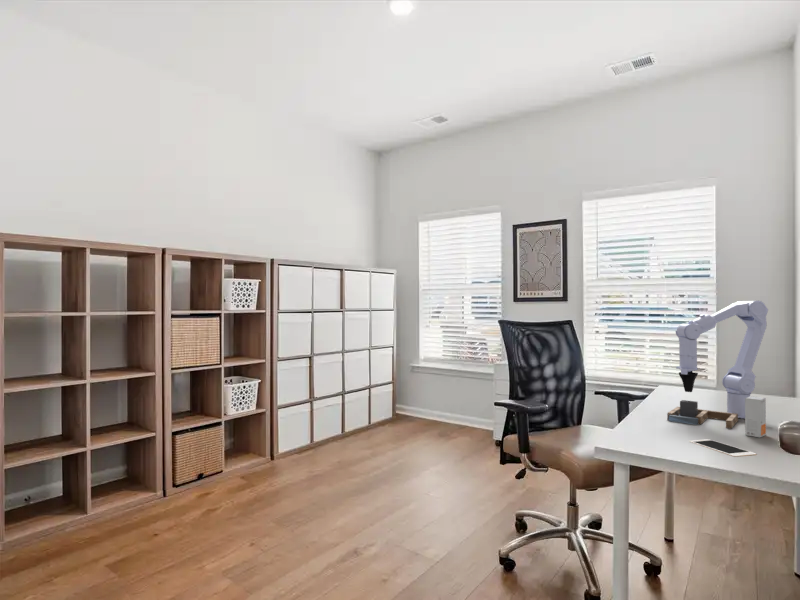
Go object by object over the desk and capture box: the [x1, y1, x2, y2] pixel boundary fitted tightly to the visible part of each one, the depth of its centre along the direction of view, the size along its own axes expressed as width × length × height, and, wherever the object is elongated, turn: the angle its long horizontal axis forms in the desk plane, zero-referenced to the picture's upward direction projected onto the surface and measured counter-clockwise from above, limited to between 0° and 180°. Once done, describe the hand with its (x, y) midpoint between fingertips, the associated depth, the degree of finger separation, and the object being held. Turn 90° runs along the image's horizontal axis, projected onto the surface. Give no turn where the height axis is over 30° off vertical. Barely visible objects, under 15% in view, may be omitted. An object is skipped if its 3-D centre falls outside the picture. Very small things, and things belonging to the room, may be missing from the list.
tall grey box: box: [679, 399, 699, 418], centre depth 180 cm, size 4×5×6 cm
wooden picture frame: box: [666, 406, 739, 429], centre depth 177 cm, size 17×20×2 cm
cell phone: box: [688, 438, 758, 458], centre depth 143 cm, size 8×16×1 cm, turn 13°
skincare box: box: [744, 395, 767, 438], centre depth 157 cm, size 6×4×12 cm
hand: (688, 391), depth 184 cm, fingers closed
